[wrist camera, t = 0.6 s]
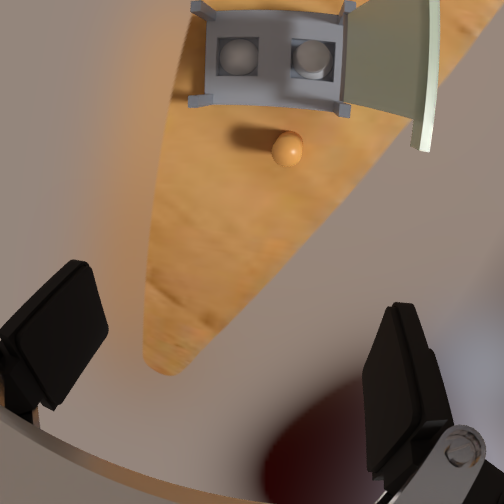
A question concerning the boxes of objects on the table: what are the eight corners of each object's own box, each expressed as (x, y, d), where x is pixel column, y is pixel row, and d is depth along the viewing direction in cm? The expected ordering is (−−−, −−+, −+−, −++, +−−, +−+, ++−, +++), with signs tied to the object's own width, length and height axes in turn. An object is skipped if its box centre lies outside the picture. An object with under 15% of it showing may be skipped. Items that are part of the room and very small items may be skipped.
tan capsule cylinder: (277, 129, 35) (272, 136, 30) (303, 132, 34) (302, 139, 30) (276, 154, 36) (270, 165, 31) (301, 157, 36) (300, 168, 31)
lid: (421, -54, 7) (438, -47, 8) (342, 2, 21) (353, 4, 21) (415, 149, 13) (432, 152, 13) (336, 115, 26) (347, 116, 26)
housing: (212, 15, 29) (187, -1, 22) (345, 20, 27) (355, 1, 20) (210, 103, 34) (184, 108, 27) (340, 111, 32) (349, 118, 25)
